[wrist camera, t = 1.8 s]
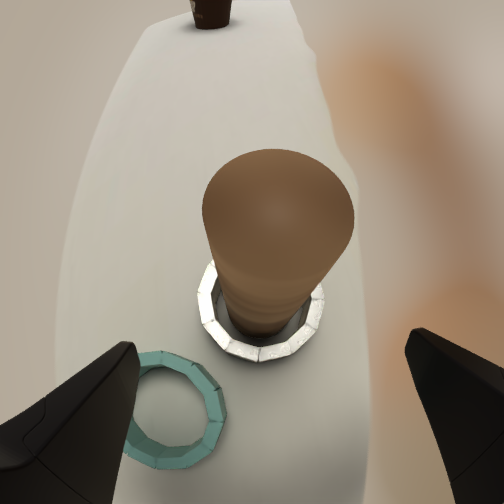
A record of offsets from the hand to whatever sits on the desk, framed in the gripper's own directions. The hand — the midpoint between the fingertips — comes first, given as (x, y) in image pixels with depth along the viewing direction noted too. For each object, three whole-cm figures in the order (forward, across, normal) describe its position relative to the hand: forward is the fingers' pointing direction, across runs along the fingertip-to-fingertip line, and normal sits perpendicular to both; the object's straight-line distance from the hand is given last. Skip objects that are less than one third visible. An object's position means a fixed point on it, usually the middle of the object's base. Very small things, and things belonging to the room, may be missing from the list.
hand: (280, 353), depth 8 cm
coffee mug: (+49, +6, -32) cm, 59 cm away
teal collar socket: (+6, +6, +10) cm, 13 cm away
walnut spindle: (+11, 0, +5) cm, 12 cm away
